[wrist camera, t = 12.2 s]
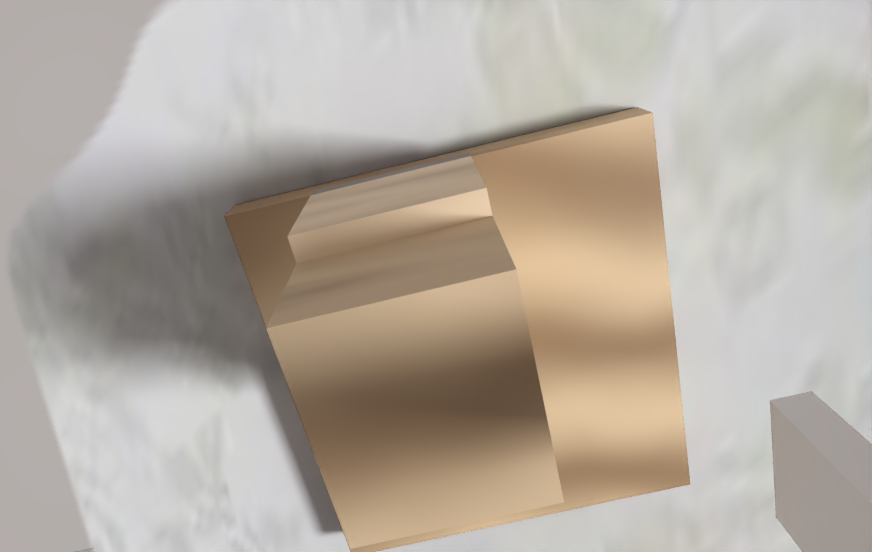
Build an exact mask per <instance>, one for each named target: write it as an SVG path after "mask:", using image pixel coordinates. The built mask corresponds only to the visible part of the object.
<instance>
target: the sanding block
mask: <svg viewBox="0 0 872 552" xmlns="http://www.w3.org/2000/svg"><path fill="white" fill-rule="evenodd" d="M287 237H288V240H289V243H290V246H291V249H292V251H293V254H294V257H295V260H296V266H295V268H294V270H293V272H292V274H291V276H290V278H289V281H288V283H287V285H286V287H285V289H284V291H283V293H282V296H281V298H280V300H279V302H278V304H277V306H276V308H275V311H274V313H273V315H272V317H271V319H270V321H269V323H268V326H267V328H266V330H267V332H268V335H269V337H270V340H271V343H272V345H273V348H274V351H275V353H276V356H277V358H278V361H279V364H280V366H281V369H282V372H283V374H284V377H285V379H286V382H287V385H288V387H289V390H290V392H291V395H292V398H293V400H294V403H295V406H296V408H297V411H298V413H299V416H300V419H301V421H302V424H303V427H304V429H305V432H306V434H307V437H308V440H309V442H310V445H311V448H312V450H313V453H314V455H315V458H316V461H317V463H318V466H319V468H320V471H321V474H322V476H323V479H324V482H325V484H326V487H327V489H328V492H329V495H330V497H331V500H332V503H333V505H334V508H335V510H336V513H337V516H338V518H339V521H340V523H341V526H342V529H343V531H344V534H345V537H346V539H347V542H348V544H349V547H350V549H353V548H357V547H362V546H367V545H371V544H376V543H380V542H385V541H390V540H394V539H399V538H403V537H408V536H412V535H417V534H422V533H426V532H431V531H435V530H440V529H445V528H449V527H454V526H458V525H463V524H467V523H472V522H477V521H481V520H486V519H490V518H495V517H500V516H504V515H509V514H513V513H518V512H523V511H527V510H532V509H536V508H541V507H545V506H550V505H555V504H559V503H564V499H563V494H562V489H561V484H560V479H559V475H558V470H557V465H556V460H555V455H554V450H553V445H552V440H551V435H550V431H549V426H548V421H547V416H546V411H545V406H544V401H543V396H542V391H541V387H540V382H539V377H538V372H537V367H536V362H535V357H534V352H533V347H532V342H531V338H530V333H529V328H528V323H527V318H526V313H525V308H524V303H523V298H522V294H521V289H520V284H519V279H518V274H517V269H516V267H515V265H514V263H513V260H512V258H511V256H510V254H509V251H508V249H507V247H506V245H505V242H504V240H503V238H502V236H501V234H500V231H499V229H498V227H497V225H496V222H495V220H494V218H493V216H492V211H491V206H490V201H489V197H488V192H487V188H486V186H485V183H484V181H483V179H482V177H481V175H480V173H479V171H478V169H477V167H476V165H475V163H474V161H473V159H472V157H471V155H470V153H465V154H461V155H457V156H453V157H449V158H445V159H441V160H437V161H433V162H429V163H425V164H421V165H417V166H413V167H409V168H405V169H400V170H396V171H392V172H388V173H384V174H380V175H376V176H372V177H368V178H364V179H360V180H356V181H352V182H348V183H344V184H340V185H336V186H332V187H328V188H324V189H319V190H315V191H313V192H312V194H311V196H310V197H309V199H308V201H307V203H306V204H305V206H304V208H303V210H302V211H301V213H300V215H299V217H298V218H297V220H296V222H295V224H294V225H293V227H292V229H291V231H290V232H289V234H288V236H287Z"/></svg>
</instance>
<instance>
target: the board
mask: <svg viewBox="0 0 872 552" xmlns="http://www.w3.org/2000/svg"><path fill="white" fill-rule="evenodd" d="M465 153H470V155H471V157H472V159H473V161H474V163H475V165H476V167H477V169H478V171H479V173H480V175H481V177H482V179H483V181H484V183H485V186H486V188H487V192H488V197H489V201H490V206H491V211H492V216H493V218H494V220H495V222H496V225H497V227H498V229H499V231H500V234H501V236H502V238H503V240H504V242H505V245H506V247H507V249H508V251H509V254H510V256H511V258H512V260H513V263H514V265H515V267H516V269H517V274H518V279H519V284H520V289H521V294H522V298H523V303H524V308H525V313H526V318H527V323H528V328H529V333H530V338H531V342H532V347H533V352H534V357H535V362H536V367H537V372H538V377H539V382H540V387H541V391H542V396H543V401H544V406H545V411H546V416H547V421H548V426H549V431H550V435H551V440H552V445H553V450H554V455H555V460H556V465H557V470H558V475H559V479H560V484H561V489H562V494H563V499H564V503H559V504H555V505H550V506H545V507H541V508H536V509H532V510H527V511H523V512H518V513H513V514H509V515H504V516H500V517H495V518H490V519H486V520H481V521H477V522H472V523H467V524H463V525H458V526H454V527H449V528H445V529H440V530H435V531H431V532H426V533H422V534H417V535H412V536H408V537H403V538H399V539H394V540H390V541H385V542H380V543H376V544H371V545H367V546H362V547H357V548H353V549H350V547H349V549H350V551H351V552H376V551H381V550H385V549H390V548H395V547H399V546H404V545H409V544H413V543H418V542H423V541H427V540H432V539H437V538H441V537H446V536H451V535H455V534H460V533H465V532H469V531H474V530H479V529H484V528H488V527H493V526H498V525H502V524H507V523H512V522H516V521H521V520H526V519H530V518H535V517H540V516H544V515H549V514H554V513H558V512H563V511H568V510H572V509H577V508H582V507H586V506H591V505H596V504H600V503H605V502H610V501H614V500H619V499H624V498H628V497H633V496H638V495H642V494H647V493H652V492H656V491H661V490H666V489H670V488H675V487H680V486H684V485H689V484H690V477H689V467H688V457H687V448H686V438H685V428H684V418H683V408H682V398H681V388H680V379H679V369H678V359H677V349H676V339H675V329H674V319H673V310H672V300H671V290H670V280H669V270H668V260H667V250H666V241H665V231H664V221H663V211H662V201H661V191H660V181H659V172H658V162H657V152H656V142H655V132H654V122H653V113H652V112H649V111H646V110H644V109H641V108H638V107H637V108H632V109H628V110H624V111H620V112H616V113H612V114H608V115H604V116H599V117H595V118H591V119H587V120H583V121H579V122H575V123H571V124H567V125H562V126H558V127H554V128H550V129H546V130H542V131H538V132H534V133H530V134H525V135H521V136H517V137H513V138H509V139H505V140H501V141H497V142H492V143H488V144H484V145H480V146H476V147H472V148H468V149H464V150H460V151H455V152H451V153H447V154H443V155H439V156H435V157H431V158H427V159H423V160H418V161H414V162H410V163H406V164H402V165H398V166H394V167H390V168H385V169H381V170H377V171H373V172H369V173H365V174H361V175H357V176H353V177H348V178H344V179H340V180H336V181H332V182H328V183H324V184H320V185H315V186H311V187H307V188H303V189H299V190H295V191H291V192H287V193H283V194H278V195H274V196H270V197H266V198H262V199H258V200H254V201H250V202H246V203H241V204H237V205H235V206H234V207H233V208H232V209H231V210H230V211H229V212H228V213H227V214H226V215H225V216H224V217H225V219H226V222H227V225H228V227H229V230H230V233H231V235H232V238H233V241H234V243H235V246H236V248H237V251H238V254H239V256H240V259H241V262H242V264H243V267H244V270H245V272H246V275H247V278H248V280H249V283H250V286H251V288H252V291H253V294H254V296H255V299H256V302H257V304H258V307H259V310H260V312H261V315H262V318H263V320H264V323H265V325H266V328H267V326H268V323H269V321H270V319H271V317H272V315H273V313H274V311H275V308H276V306H277V304H278V302H279V300H280V298H281V296H282V293H283V291H284V289H285V287H286V285H287V283H288V281H289V278H290V276H291V274H292V272H293V270H294V268H295V266H296V260H295V257H294V254H293V251H292V249H291V246H290V243H289V240H288V237H287V236H288V234H289V232H290V231H291V229H292V227H293V225H294V224H295V222H296V220H297V218H298V217H299V215H300V213H301V211H302V210H303V208H304V206H305V204H306V203H307V201H308V199H309V197H310V196H311V194H312V192H313V191H315V190H319V189H324V188H328V187H332V186H336V185H340V184H344V183H348V182H352V181H356V180H360V179H364V178H368V177H372V176H376V175H380V174H384V173H388V172H392V171H396V170H400V169H405V168H409V167H413V166H417V165H421V164H425V163H429V162H433V161H437V160H441V159H445V158H449V157H453V156H457V155H461V154H465ZM314 456H315V455H314ZM317 464H318V463H317ZM319 469H320V468H319ZM320 472H321V471H320ZM322 477H323V476H322ZM323 480H324V479H323ZM325 485H326V484H325ZM326 488H327V487H326ZM327 490H328V489H327ZM328 493H329V492H328ZM330 498H331V497H330ZM331 501H332V500H331ZM333 506H334V505H333ZM334 509H335V508H334ZM335 511H336V510H335ZM336 514H337V513H336ZM337 517H338V516H337ZM338 519H339V518H338ZM339 522H340V521H339ZM340 525H341V523H340ZM341 527H342V526H341ZM342 530H343V529H342ZM343 533H344V531H343ZM344 535H345V534H344ZM345 538H346V537H345ZM346 541H347V539H346ZM347 543H348V542H347ZM348 546H349V544H348Z"/></svg>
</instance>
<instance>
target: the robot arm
mask: <svg viewBox="0 0 872 552" xmlns="http://www.w3.org/2000/svg"><path fill="white" fill-rule="evenodd" d="M770 411H771V431H772V450H773V469H774V489H775V508H776V518H777V519H778V520H779V522H780V523H781V524H782V525H783V527H784V528H785V529H786V531H787V532H788V533H789V535H790V536H791V537H792V539H793V540H794V541H795V542H796V544H797V545H798V546H799V548H800V549H801V550H802V552H872V444H871V443H870V442H869V441H868V440H867V439H865V438H864V437H863V436H862V435H861V434H860V433H859V432H857V431H856V430H855V429H854V428H853V427H852V426H851V425H849V424H848V423H847V422H846V421H845V420H844V419H843V418H841V417H840V416H839V415H838V414H837V413H836V412H835V411H833V410H832V409H831V408H830V407H829V406H828V405H827V404H826V403H824V402H823V401H822V400H821V399H820V398H819V397H818V396H816V395H815V394H814V393H813V392H812V391H811V392H807V393H802V394H797V395H793V396H788V397H784V398H779V399H774V400H770ZM76 552H95V550H94V549H93V548H90V549H85V550H80V551H76Z"/></svg>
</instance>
